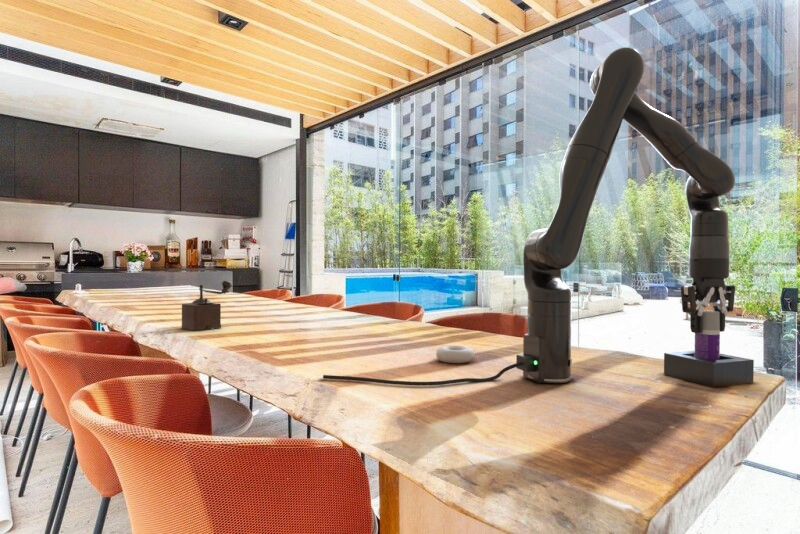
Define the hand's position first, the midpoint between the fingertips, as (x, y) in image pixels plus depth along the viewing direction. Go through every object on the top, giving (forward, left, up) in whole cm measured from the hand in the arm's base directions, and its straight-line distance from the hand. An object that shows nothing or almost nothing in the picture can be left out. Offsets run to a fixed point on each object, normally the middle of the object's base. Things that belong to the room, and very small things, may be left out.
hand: (707, 331), depth 106 cm
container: (0, 0, -11) cm, 11 cm away
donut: (-45, +35, -11) cm, 58 cm away
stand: (0, 0, -11) cm, 11 cm away
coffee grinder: (-108, +119, -11) cm, 161 cm away
